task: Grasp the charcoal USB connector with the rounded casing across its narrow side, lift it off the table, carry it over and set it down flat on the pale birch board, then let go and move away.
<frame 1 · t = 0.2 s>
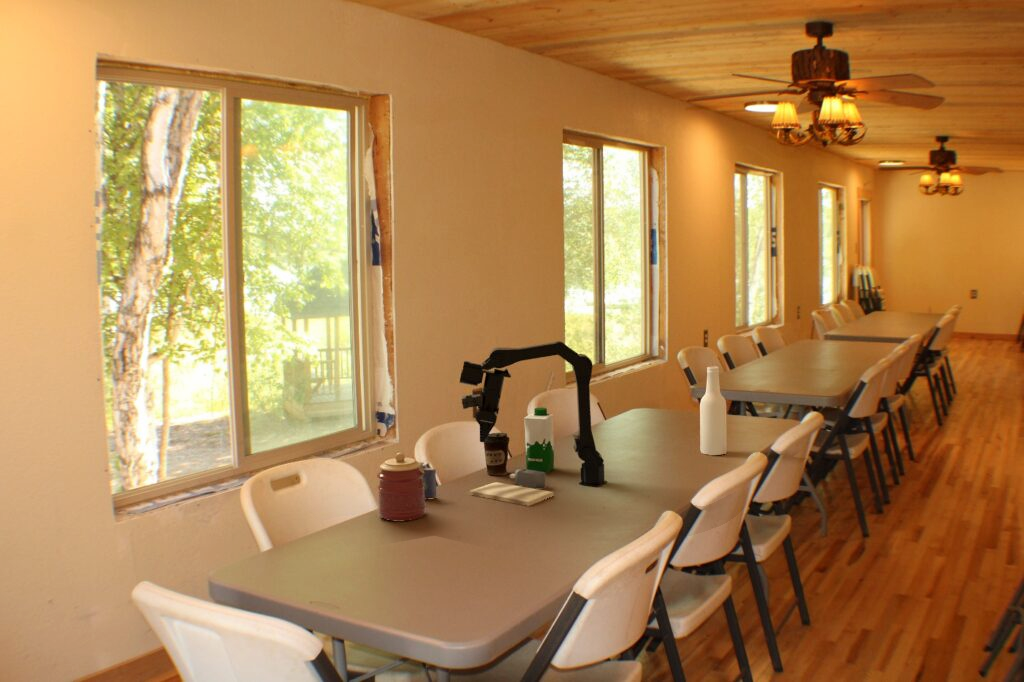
hand: (482, 439, 284), 15 cm above the table, tool pointing down, fingers open, 9 cm apart
birch board: (511, 495, 276), on the table
coffee cup: (497, 474, 302), on the table
flask: (421, 498, 276), on the table
canister: (402, 516, 259), on the table
alcohol: (713, 454, 321), on the table
milk carton: (540, 470, 305), on the table
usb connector: (530, 485, 286), on the table
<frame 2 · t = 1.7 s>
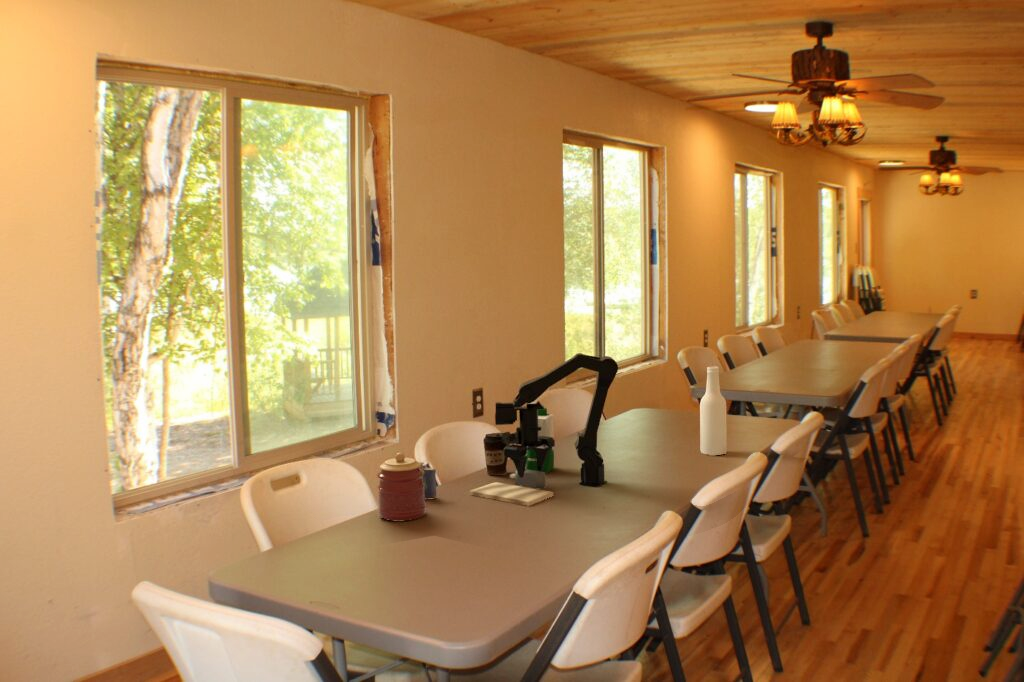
hand: (530, 474, 286), 4 cm above the table, tool pointing down, fingers open, 9 cm apart
nothing on the table moved.
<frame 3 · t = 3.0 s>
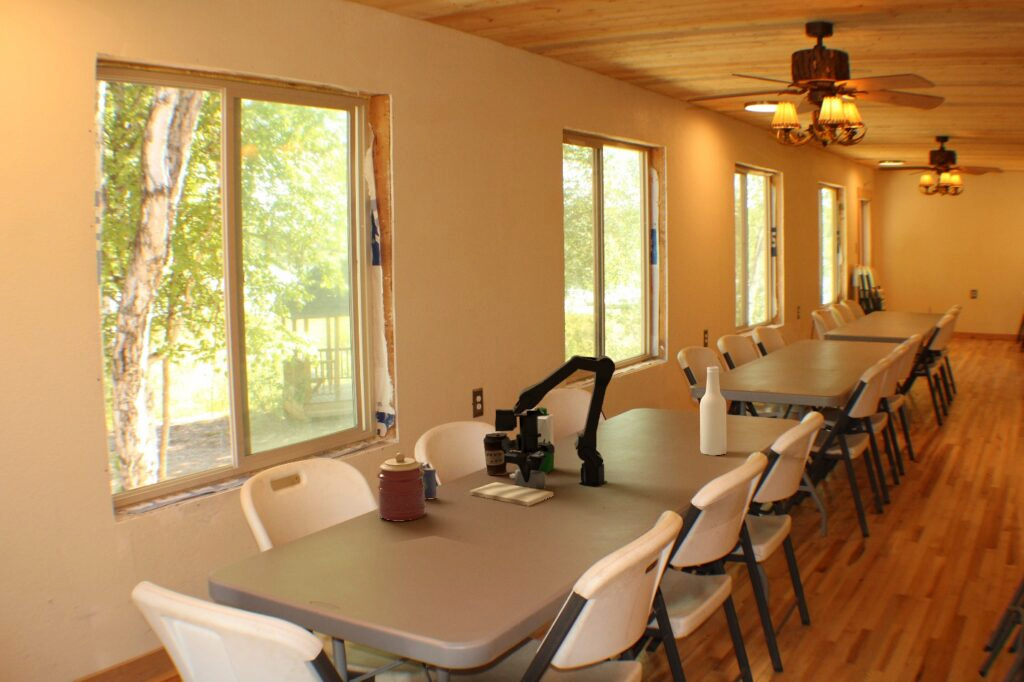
hand: (530, 480, 286), 2 cm above the table, tool pointing down, fingers closed on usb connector, 4 cm apart
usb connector: (530, 485, 286), on the table, touching gripper
everything else where it was.
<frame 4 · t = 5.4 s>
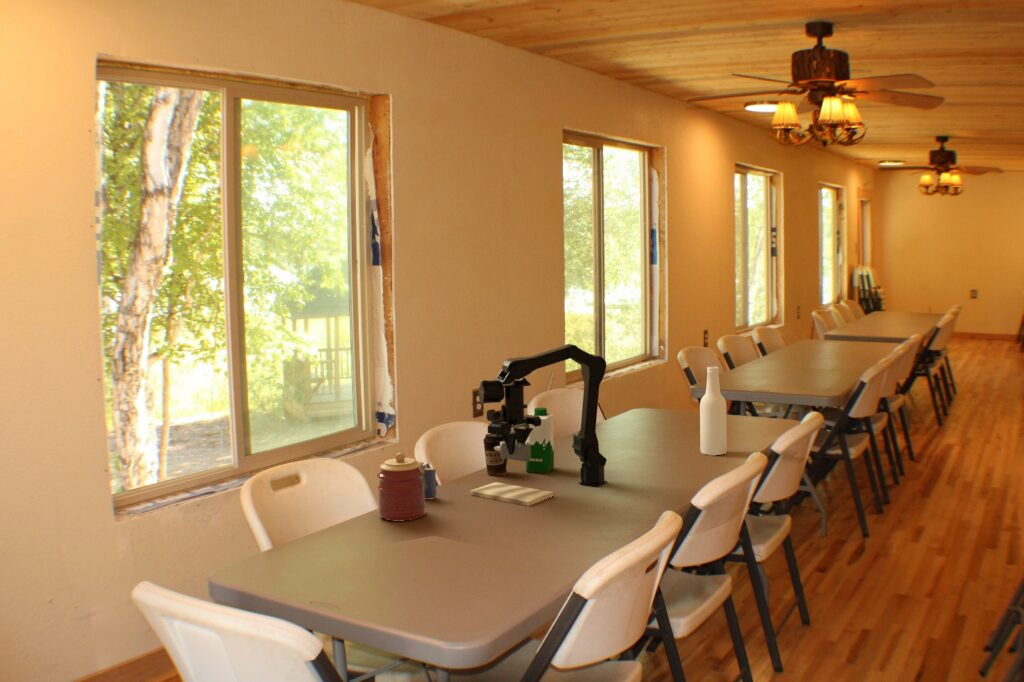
hand: (515, 453, 278), 12 cm above the table, tool pointing down, fingers closed on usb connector, 4 cm apart
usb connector: (515, 458, 278), point 10 cm above the table, touching gripper
everything else where it was.
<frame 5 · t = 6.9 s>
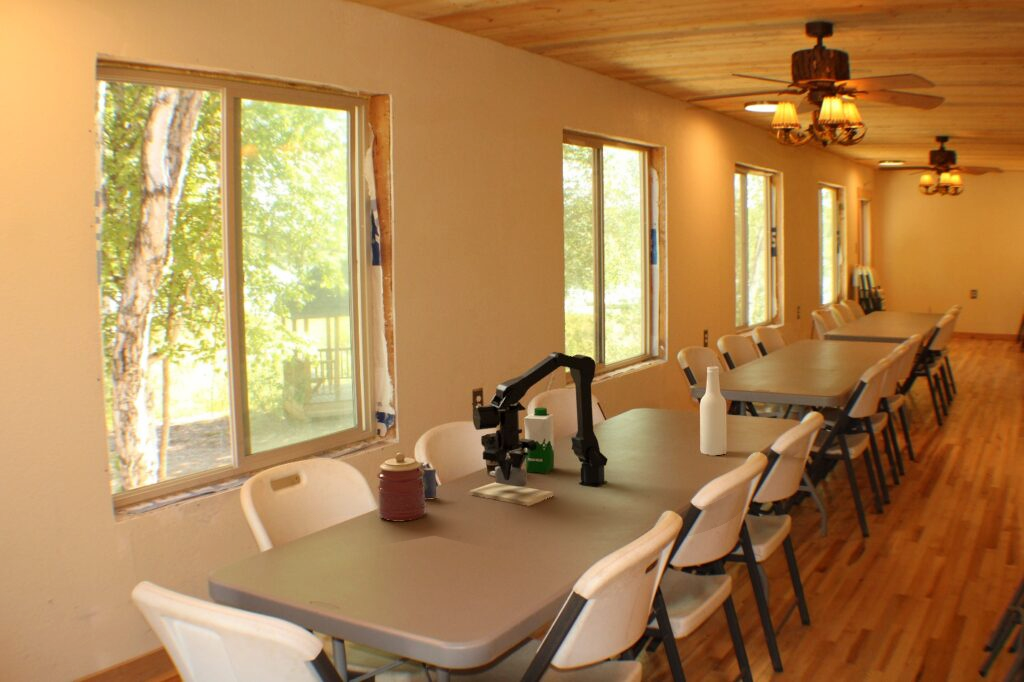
hand: (510, 478, 275), 5 cm above the table, tool pointing down, fingers closed on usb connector, 4 cm apart
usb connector: (510, 483, 276), point 4 cm above the table, touching gripper
everything else where it was.
when the fingers open (4 cm above the table, at t = 7.9 s): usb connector stays where it is, resting on birch board.
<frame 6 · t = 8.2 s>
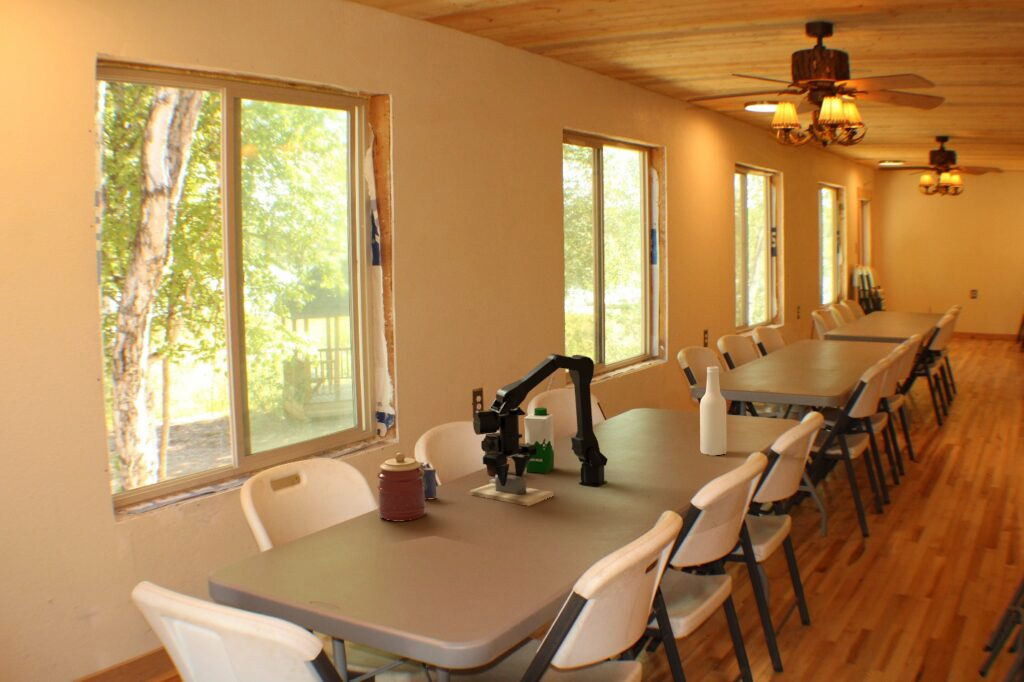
hand: (510, 483, 275), 4 cm above the table, tool pointing down, fingers open, 7 cm apart
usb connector: (510, 491, 276), point 1 cm above the table, touching birch board
everything else where it was.
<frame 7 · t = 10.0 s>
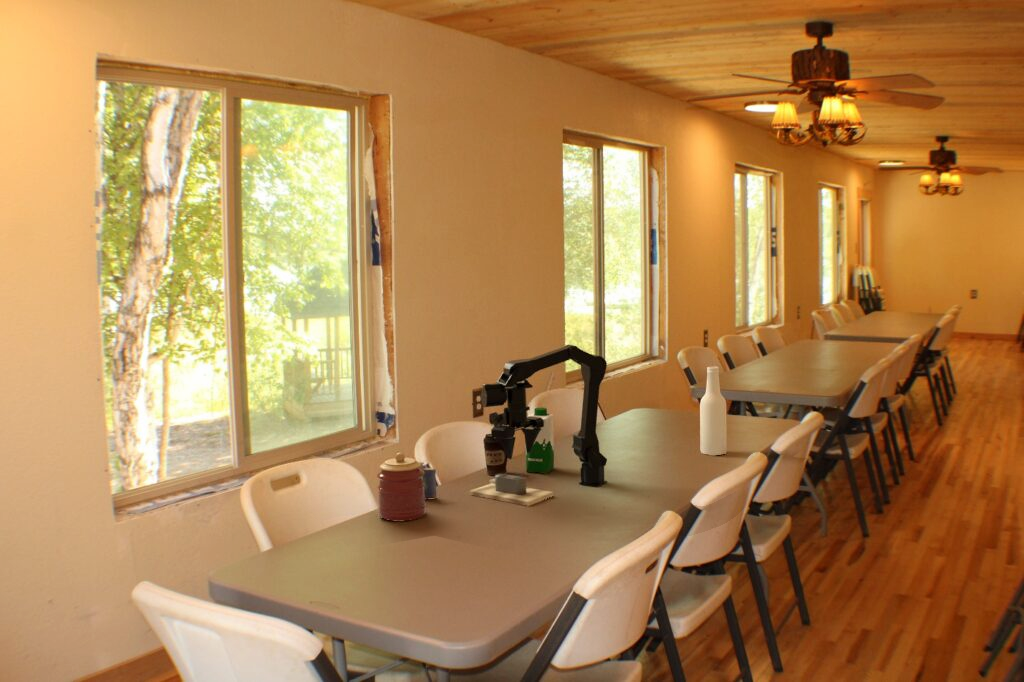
hand: (519, 455, 277), 11 cm above the table, tool pointing down, fingers open, 9 cm apart
nothing on the table moved.
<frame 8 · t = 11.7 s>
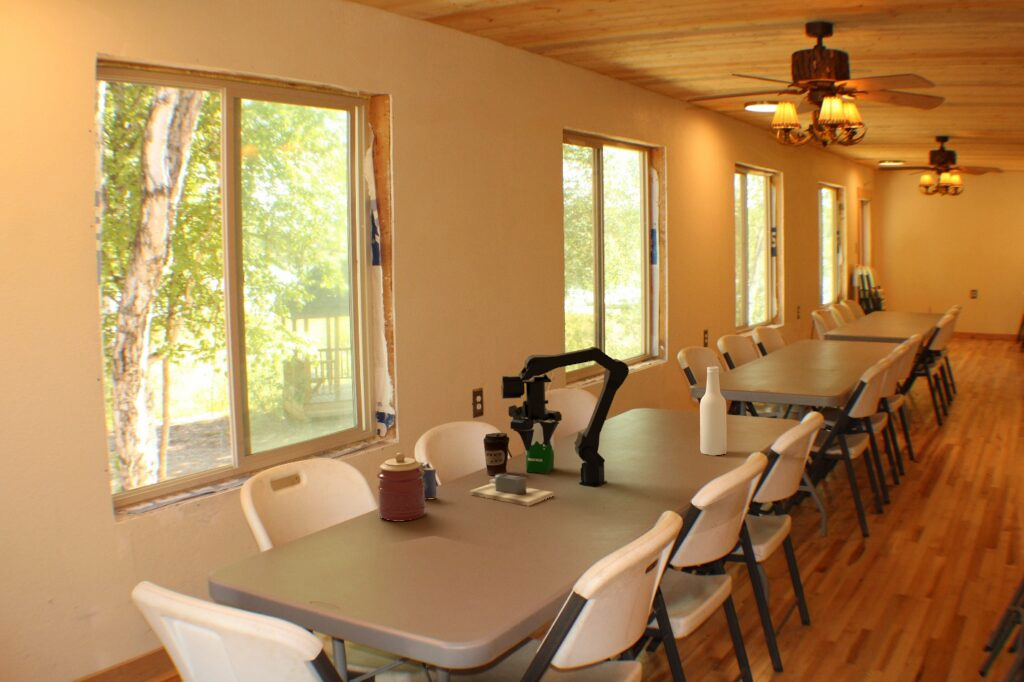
hand: (537, 448, 283), 12 cm above the table, tool pointing down, fingers open, 9 cm apart
nothing on the table moved.
at the end: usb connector inside the target area on the birch board (0.1 cm from its centre), point 1.2 cm above the birch board's base; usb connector tilted 0°; the gripper is holding nothing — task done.
